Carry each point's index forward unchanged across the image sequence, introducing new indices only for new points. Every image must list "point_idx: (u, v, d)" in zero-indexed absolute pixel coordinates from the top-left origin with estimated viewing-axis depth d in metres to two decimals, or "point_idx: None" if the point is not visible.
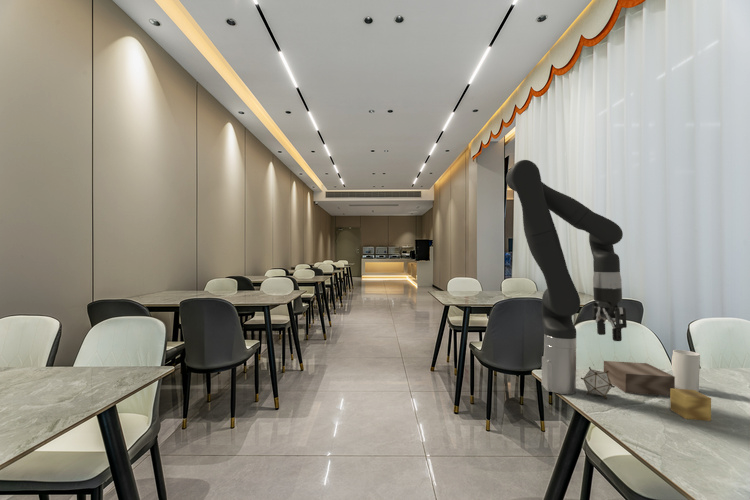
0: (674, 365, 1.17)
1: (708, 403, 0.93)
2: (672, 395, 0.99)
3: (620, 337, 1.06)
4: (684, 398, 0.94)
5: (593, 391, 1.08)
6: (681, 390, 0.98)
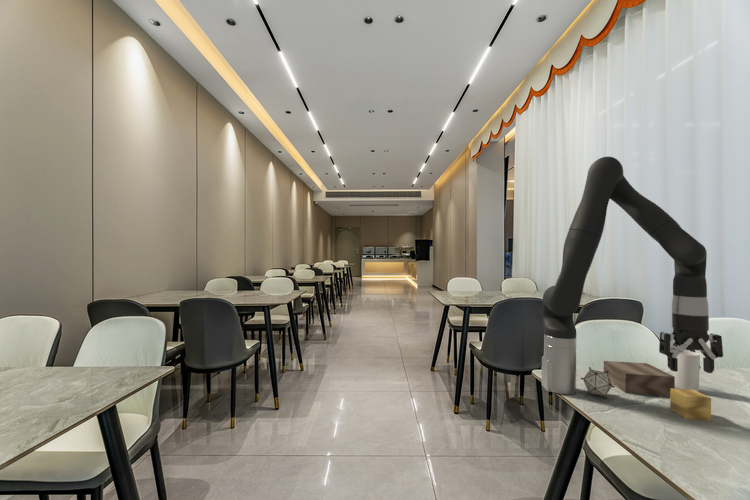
0: None
1: (708, 403, 0.93)
2: (672, 395, 0.99)
3: None
4: (684, 398, 0.94)
5: (593, 391, 1.08)
6: (681, 390, 0.98)
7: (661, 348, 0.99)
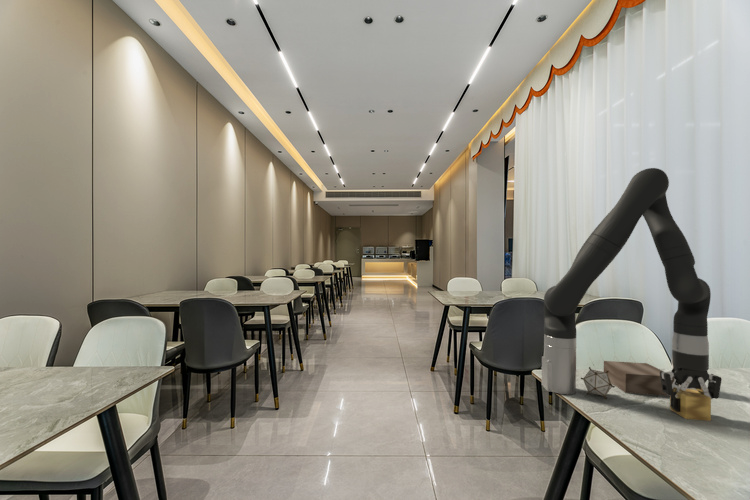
0: None
1: (708, 403, 0.93)
2: None
3: None
4: (684, 398, 0.95)
5: (593, 391, 1.08)
6: None
7: (664, 387, 0.98)
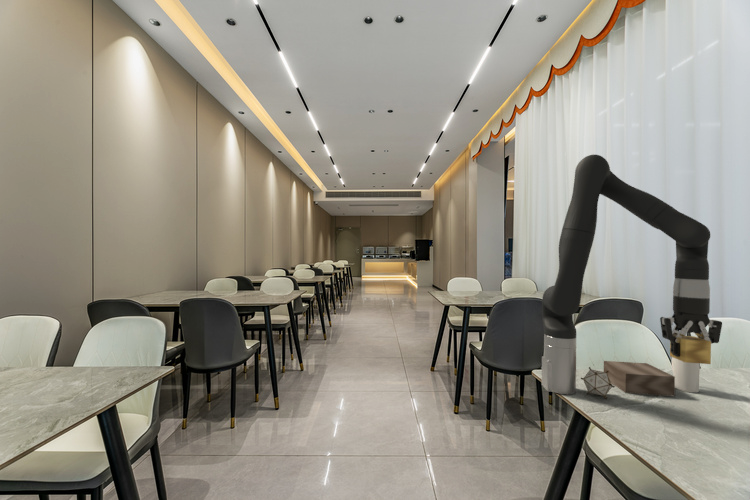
0: (674, 365, 1.17)
1: (708, 346, 0.93)
2: None
3: None
4: (684, 342, 0.95)
5: (593, 391, 1.08)
6: None
7: (664, 333, 0.98)
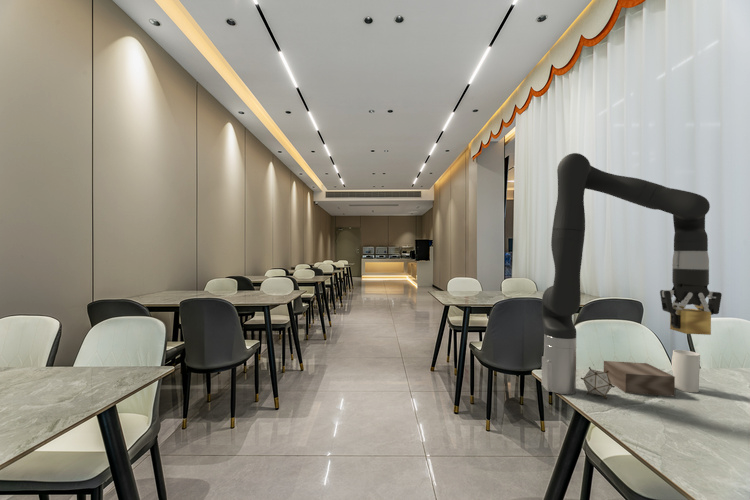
0: (674, 365, 1.17)
1: (708, 317, 0.94)
2: None
3: None
4: (684, 313, 0.95)
5: (593, 391, 1.08)
6: None
7: (664, 306, 0.99)
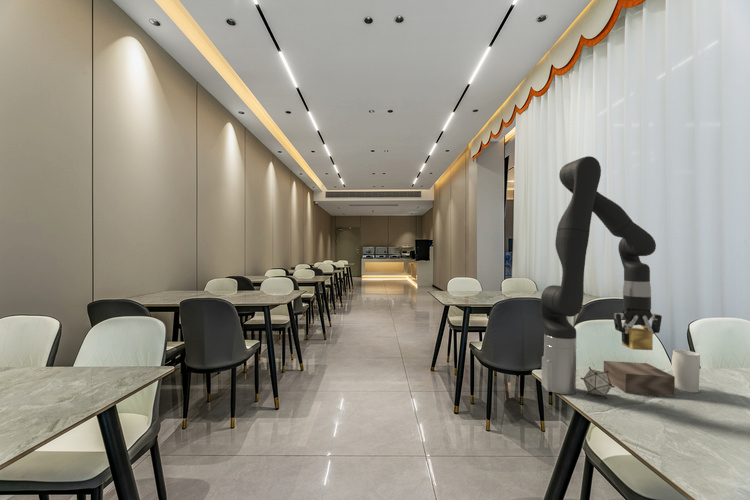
0: (674, 365, 1.17)
1: (650, 335, 1.15)
2: None
3: None
4: (631, 332, 1.16)
5: (593, 391, 1.08)
6: None
7: (616, 326, 1.20)
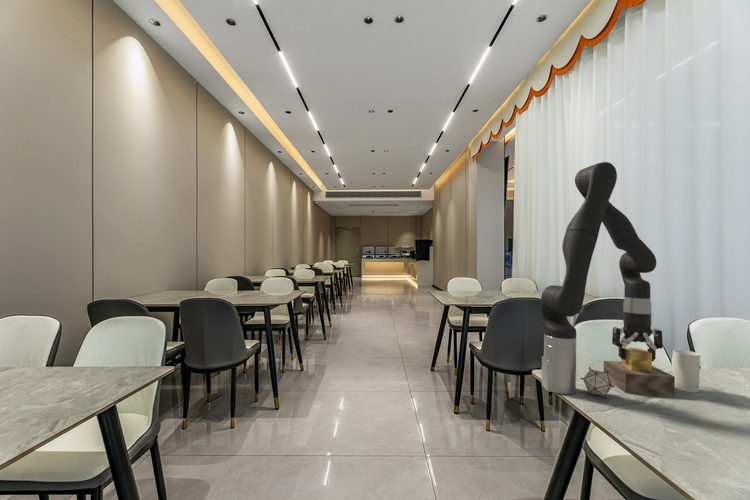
0: (674, 365, 1.17)
1: (649, 357, 1.14)
2: None
3: None
4: (630, 353, 1.16)
5: (593, 391, 1.08)
6: (630, 348, 1.20)
7: (613, 340, 1.20)
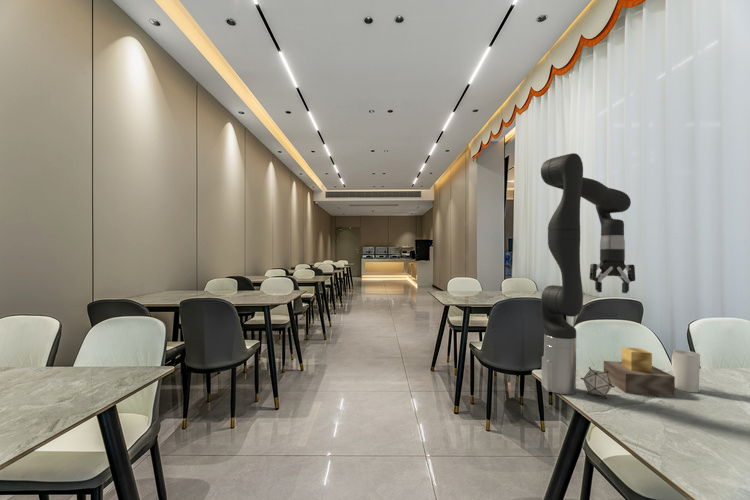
0: (674, 365, 1.17)
1: (649, 357, 1.14)
2: (622, 353, 1.21)
3: None
4: (630, 353, 1.16)
5: (593, 391, 1.08)
6: (630, 348, 1.20)
7: (591, 275, 1.30)
